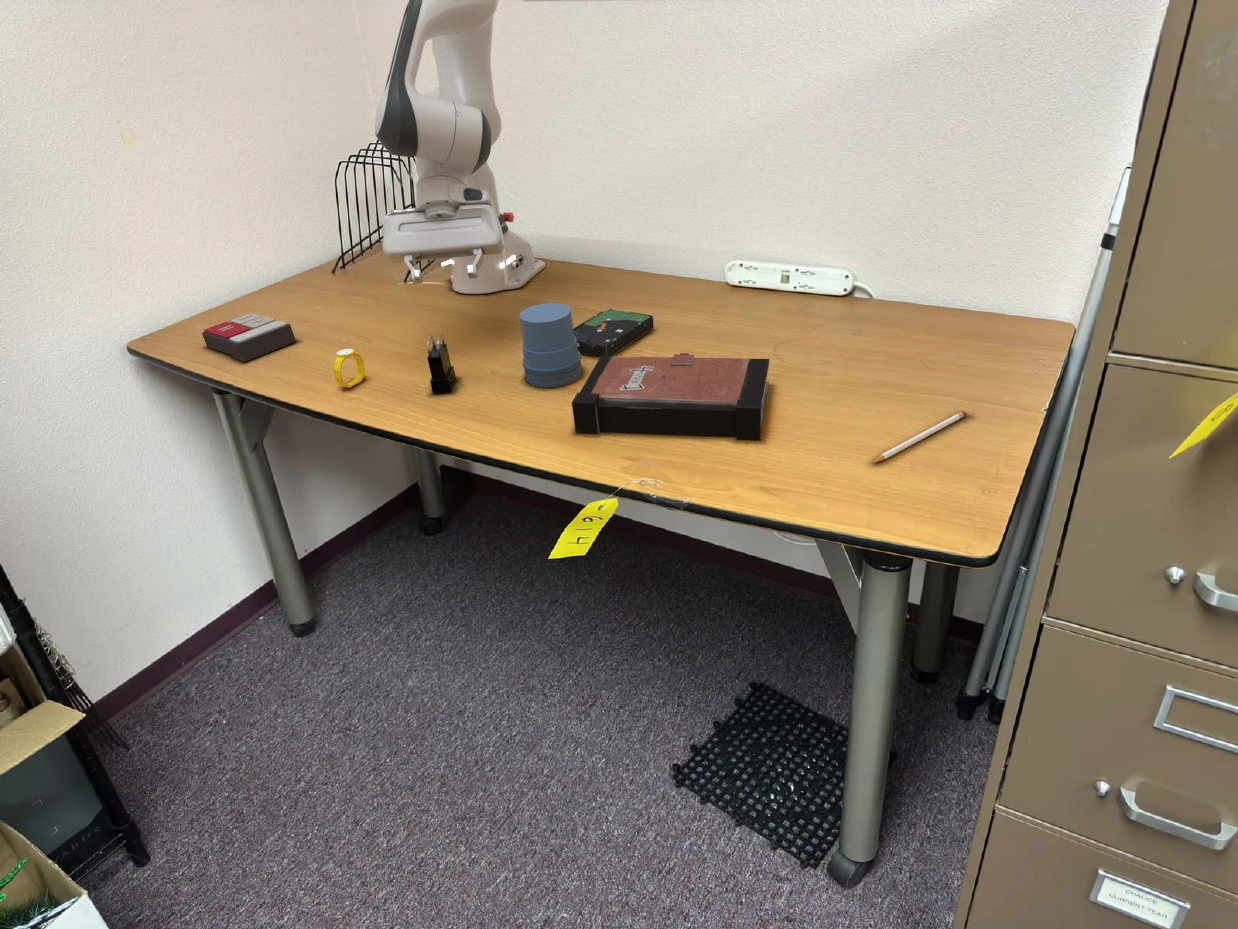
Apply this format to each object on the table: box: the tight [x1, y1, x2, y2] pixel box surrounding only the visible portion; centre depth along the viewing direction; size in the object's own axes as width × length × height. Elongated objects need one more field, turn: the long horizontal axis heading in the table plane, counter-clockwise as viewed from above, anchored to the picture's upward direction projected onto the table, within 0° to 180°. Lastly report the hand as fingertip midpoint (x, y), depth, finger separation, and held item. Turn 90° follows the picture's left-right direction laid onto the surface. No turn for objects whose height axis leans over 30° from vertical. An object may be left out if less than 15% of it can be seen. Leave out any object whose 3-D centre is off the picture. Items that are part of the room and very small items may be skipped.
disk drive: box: [573, 308, 654, 358], centre depth 145 cm, size 10×3×15 cm
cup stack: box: [518, 302, 582, 388], centre depth 132 cm, size 10×10×11 cm
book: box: [571, 352, 771, 442], centre depth 120 cm, size 26×18×5 cm
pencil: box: [873, 410, 968, 463], centre depth 108 cm, size 1×19×1 cm, turn 125°
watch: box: [333, 348, 366, 389], centre depth 137 cm, size 6×3×6 cm, turn 156°
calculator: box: [201, 312, 297, 363], centre depth 158 cm, size 11×4×15 cm
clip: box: [426, 333, 457, 395], centre depth 132 cm, size 5×3×8 cm, turn 0°
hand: (445, 279), depth 137 cm, fingers open, 8 cm apart
